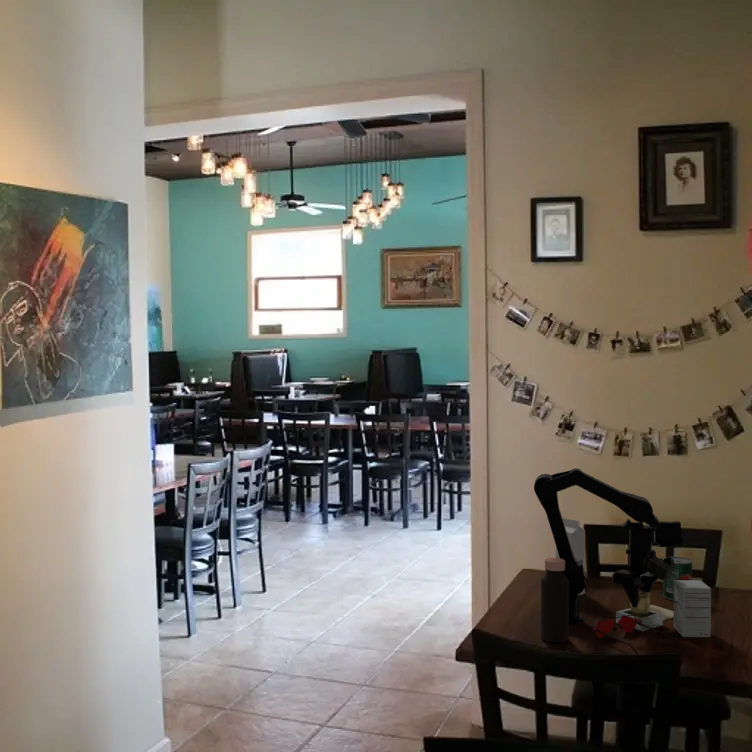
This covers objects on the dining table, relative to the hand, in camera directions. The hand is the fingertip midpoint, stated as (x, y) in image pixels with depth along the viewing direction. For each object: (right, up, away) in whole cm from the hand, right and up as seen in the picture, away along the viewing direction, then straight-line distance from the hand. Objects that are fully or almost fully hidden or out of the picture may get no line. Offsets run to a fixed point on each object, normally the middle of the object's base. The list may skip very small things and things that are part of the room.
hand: (639, 604), depth 237 cm
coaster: (+7, -5, +9) cm, 12 cm away
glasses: (-5, -6, -14) cm, 17 cm away
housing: (0, -5, 0) cm, 5 cm away
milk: (-12, -4, +28) cm, 31 cm away
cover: (0, -5, 0) cm, 4 cm away
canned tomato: (+18, -4, +24) cm, 30 cm away
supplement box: (+11, -6, -7) cm, 14 cm away
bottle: (-25, -6, -11) cm, 28 cm away
